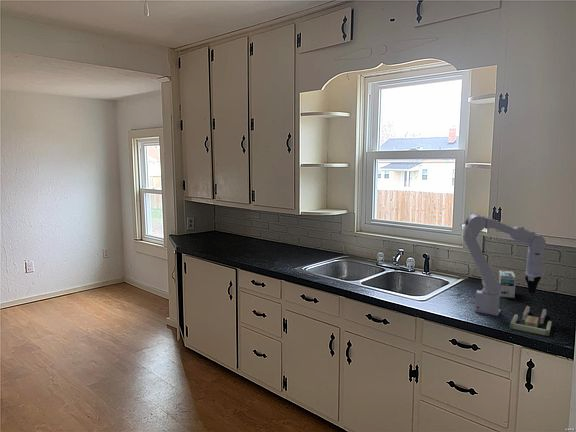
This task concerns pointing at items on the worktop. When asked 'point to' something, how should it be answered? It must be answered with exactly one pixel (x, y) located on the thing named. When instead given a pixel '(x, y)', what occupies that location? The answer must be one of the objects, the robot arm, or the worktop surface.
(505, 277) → the light bulb box
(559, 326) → the worktop surface
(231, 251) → the worktop surface
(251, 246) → the worktop surface
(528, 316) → the tan square block
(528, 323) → the tan wooden block
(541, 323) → the slot rails
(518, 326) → the tray
